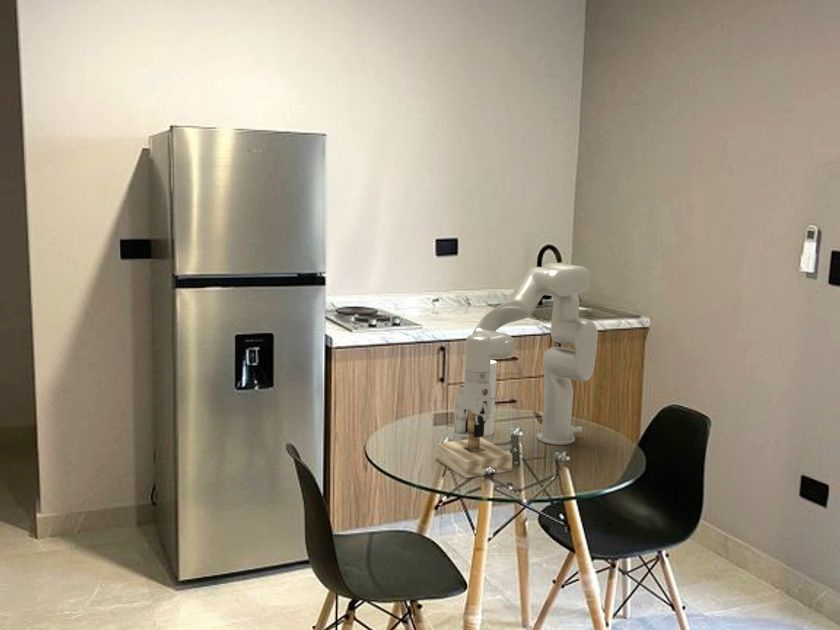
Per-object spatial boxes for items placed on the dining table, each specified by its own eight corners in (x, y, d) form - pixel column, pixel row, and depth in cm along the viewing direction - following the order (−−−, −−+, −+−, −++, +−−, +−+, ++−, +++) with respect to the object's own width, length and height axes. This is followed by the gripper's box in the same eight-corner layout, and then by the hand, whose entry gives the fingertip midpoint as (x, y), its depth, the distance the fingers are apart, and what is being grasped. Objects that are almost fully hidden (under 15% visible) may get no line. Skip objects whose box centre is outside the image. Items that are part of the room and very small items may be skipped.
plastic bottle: (456, 449, 275) (458, 389, 271) (449, 443, 281) (452, 384, 278) (475, 448, 277) (477, 388, 273) (468, 442, 283) (470, 383, 280)
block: (480, 452, 273) (481, 437, 272) (511, 470, 257) (512, 454, 256) (436, 459, 265) (436, 443, 265) (465, 478, 250) (466, 461, 249)
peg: (475, 444, 263) (477, 406, 261) (483, 448, 259) (485, 410, 257) (463, 446, 261) (465, 408, 259) (471, 450, 257) (472, 411, 255)
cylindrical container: (493, 436, 290) (497, 364, 286) (472, 435, 291) (476, 363, 286) (492, 429, 297) (496, 359, 293) (472, 428, 298) (475, 358, 293)
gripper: (502, 381, 251) (499, 441, 254) (473, 368, 266) (470, 425, 269) (481, 383, 247) (478, 443, 250) (452, 370, 262) (450, 427, 265)
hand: (474, 433), depth 260 cm, fingers closed on peg, 4 cm apart
